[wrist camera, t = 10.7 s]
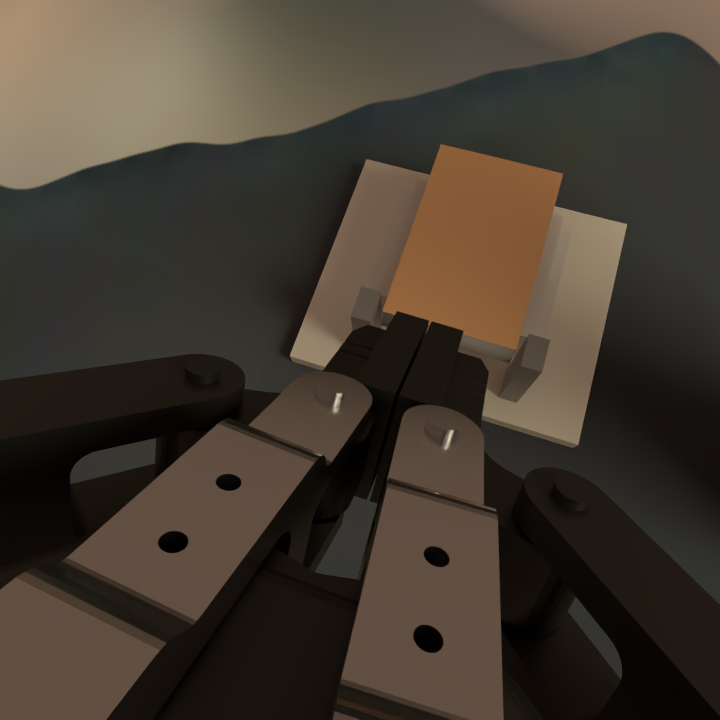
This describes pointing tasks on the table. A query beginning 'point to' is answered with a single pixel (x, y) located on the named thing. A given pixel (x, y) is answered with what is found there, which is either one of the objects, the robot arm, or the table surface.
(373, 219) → the heatsink board
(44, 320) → the table surface
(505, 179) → the brown flat panel
